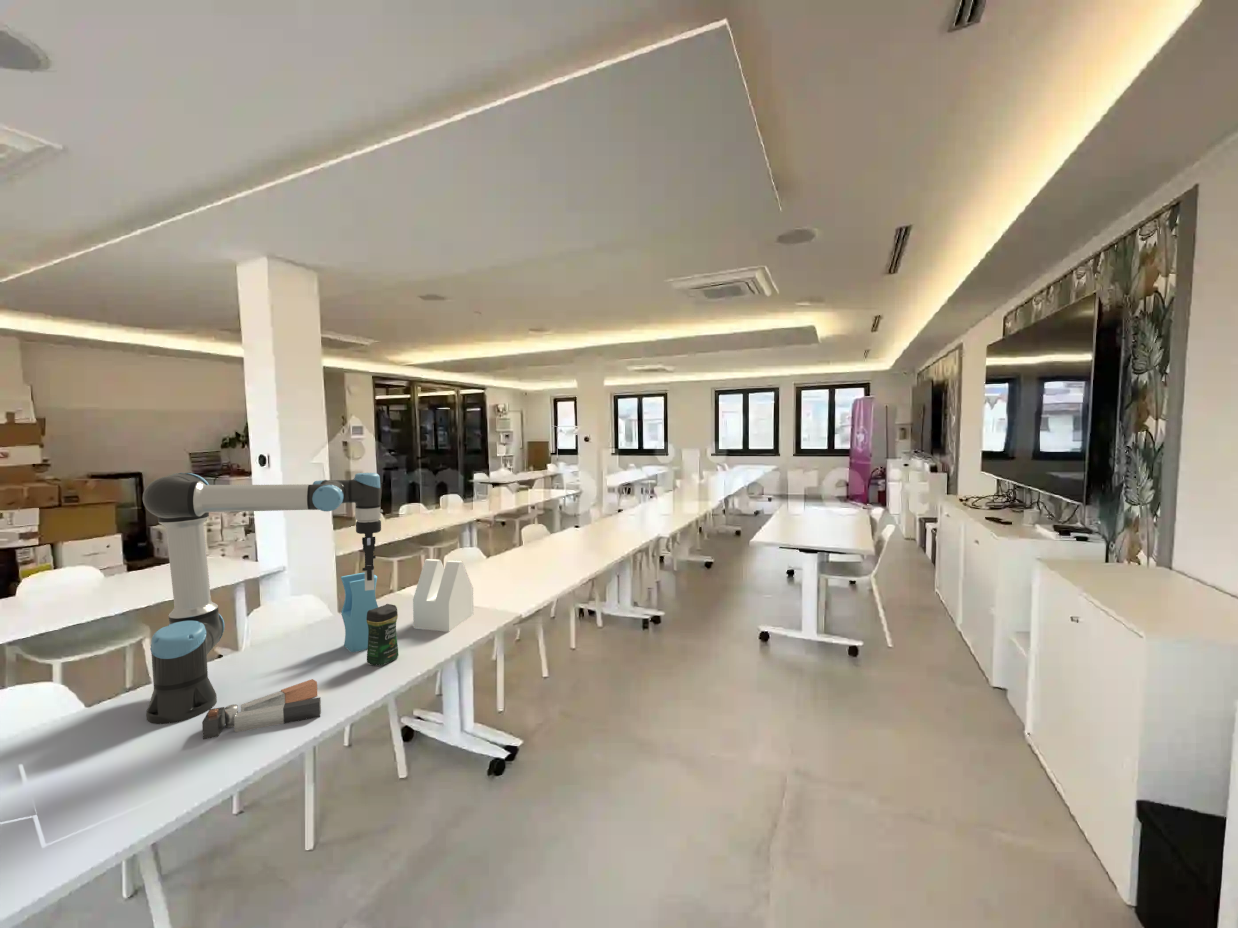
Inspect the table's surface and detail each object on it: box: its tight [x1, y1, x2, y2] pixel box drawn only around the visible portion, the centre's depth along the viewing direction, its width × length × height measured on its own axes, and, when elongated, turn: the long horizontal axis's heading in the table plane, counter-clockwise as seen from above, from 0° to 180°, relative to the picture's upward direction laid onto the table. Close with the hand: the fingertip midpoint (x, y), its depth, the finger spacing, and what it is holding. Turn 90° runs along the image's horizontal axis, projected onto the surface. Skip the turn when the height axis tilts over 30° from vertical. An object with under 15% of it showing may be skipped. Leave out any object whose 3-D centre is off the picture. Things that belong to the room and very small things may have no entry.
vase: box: [340, 571, 379, 653], centre depth 194 cm, size 10×10×25 cm
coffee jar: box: [366, 603, 399, 666], centre depth 182 cm, size 10×8×19 cm
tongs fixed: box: [201, 696, 322, 740], centre depth 144 cm, size 26×7×6 cm, turn 114°
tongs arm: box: [224, 678, 318, 729], centre depth 150 cm, size 22×3×5 cm, turn 142°
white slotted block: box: [412, 558, 474, 633], centre depth 218 cm, size 19×15×25 cm
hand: (369, 584), depth 179 cm, fingers open, 13 cm apart
